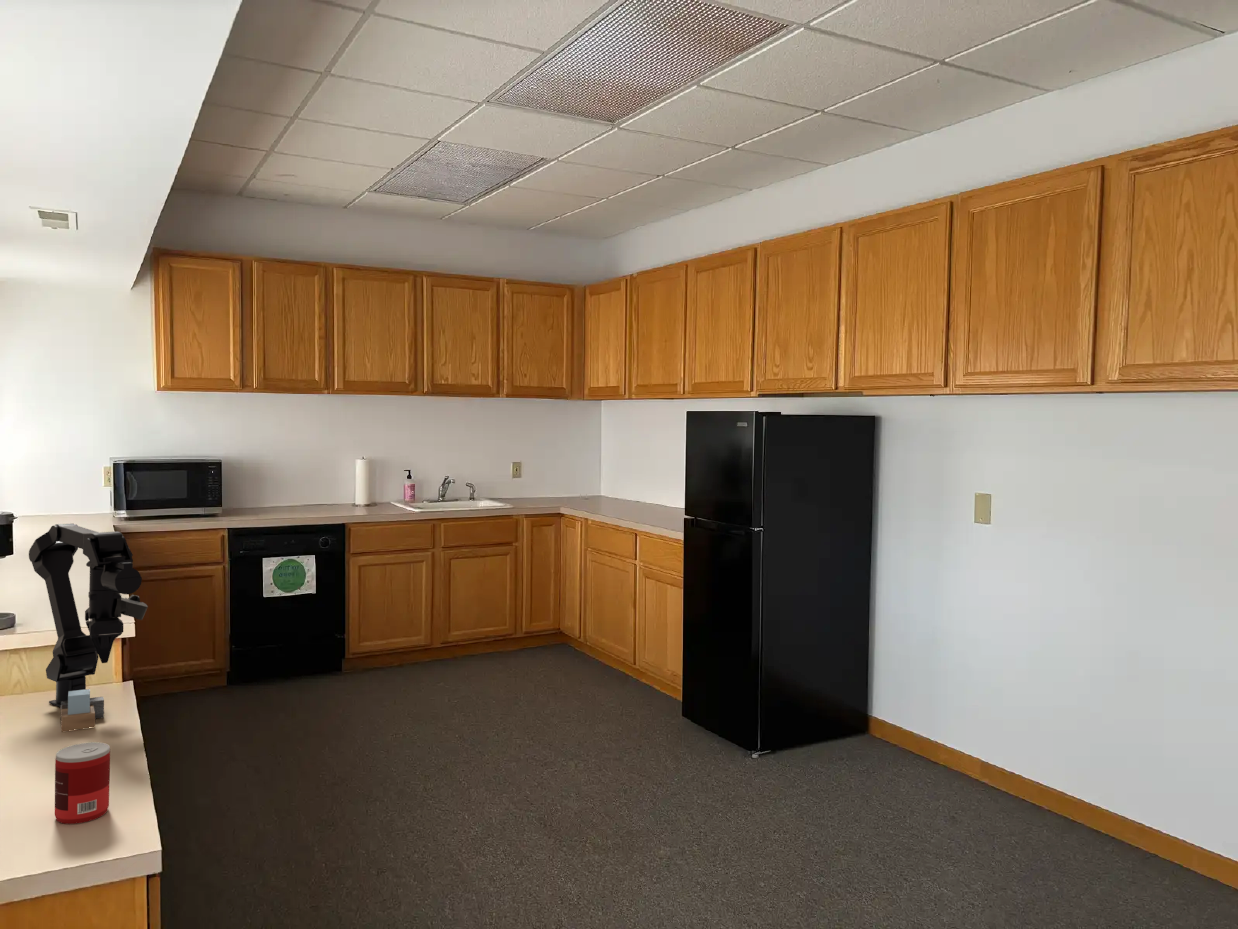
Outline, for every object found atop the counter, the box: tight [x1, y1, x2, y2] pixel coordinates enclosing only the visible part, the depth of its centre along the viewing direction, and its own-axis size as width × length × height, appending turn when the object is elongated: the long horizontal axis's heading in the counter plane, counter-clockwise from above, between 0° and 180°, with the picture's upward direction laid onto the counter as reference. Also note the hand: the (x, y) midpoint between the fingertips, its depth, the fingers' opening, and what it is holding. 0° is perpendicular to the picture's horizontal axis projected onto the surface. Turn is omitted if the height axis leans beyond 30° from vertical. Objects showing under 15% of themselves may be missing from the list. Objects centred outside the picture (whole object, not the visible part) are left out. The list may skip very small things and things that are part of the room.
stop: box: [60, 696, 105, 720], centre depth 196 cm, size 3×8×4 cm, turn 124°
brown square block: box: [60, 705, 96, 733], centre depth 192 cm, size 6×6×4 cm
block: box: [68, 688, 91, 715], centre depth 191 cm, size 4×4×4 cm
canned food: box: [54, 741, 111, 825], centre depth 149 cm, size 8×8×11 cm
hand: (102, 658), depth 198 cm, fingers open, 9 cm apart
